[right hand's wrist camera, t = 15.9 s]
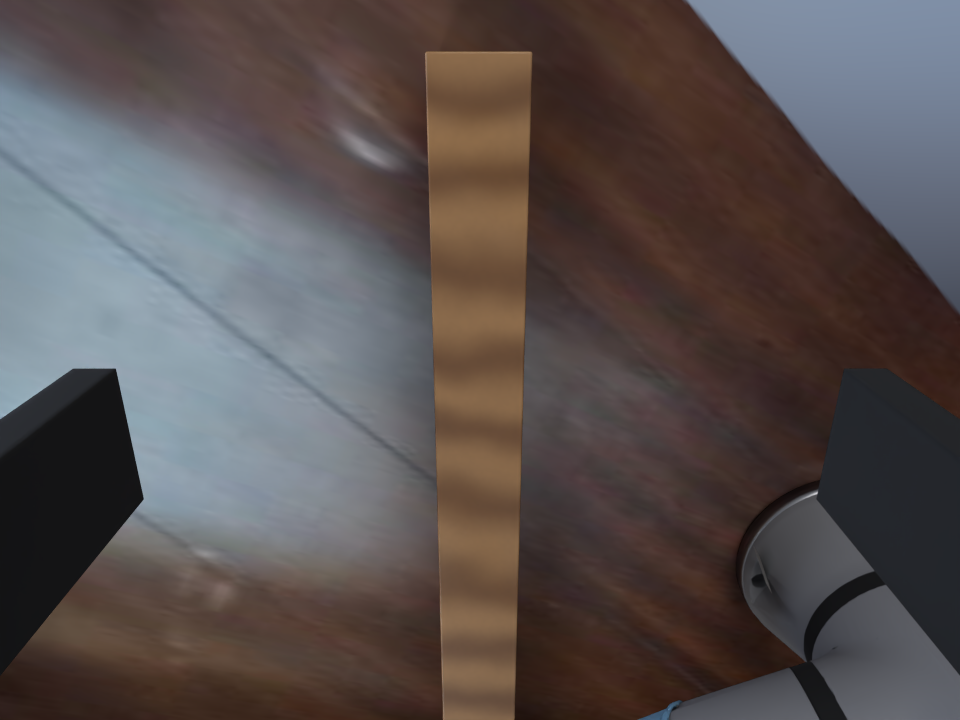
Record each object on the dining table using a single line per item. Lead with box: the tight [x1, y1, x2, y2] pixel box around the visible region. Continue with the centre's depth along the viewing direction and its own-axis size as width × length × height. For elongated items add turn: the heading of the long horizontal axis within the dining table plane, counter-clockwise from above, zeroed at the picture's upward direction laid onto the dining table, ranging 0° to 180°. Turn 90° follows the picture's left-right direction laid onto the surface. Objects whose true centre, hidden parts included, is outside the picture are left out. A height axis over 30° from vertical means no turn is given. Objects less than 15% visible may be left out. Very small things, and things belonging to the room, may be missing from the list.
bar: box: [425, 52, 532, 720], centre depth 52 cm, size 76×5×8 cm, turn 0°
